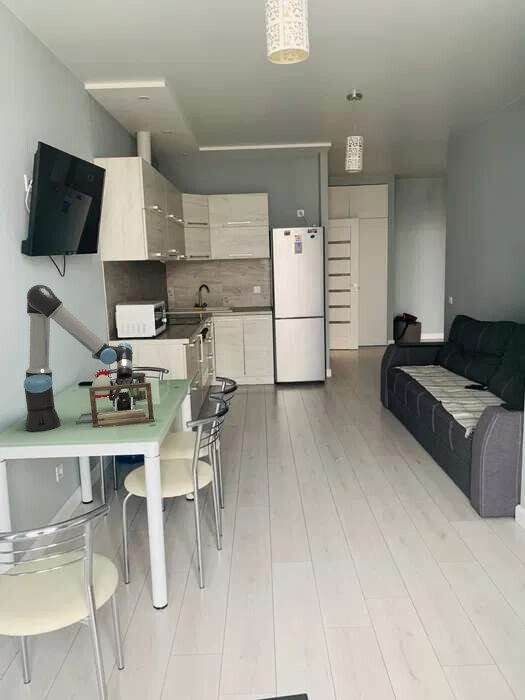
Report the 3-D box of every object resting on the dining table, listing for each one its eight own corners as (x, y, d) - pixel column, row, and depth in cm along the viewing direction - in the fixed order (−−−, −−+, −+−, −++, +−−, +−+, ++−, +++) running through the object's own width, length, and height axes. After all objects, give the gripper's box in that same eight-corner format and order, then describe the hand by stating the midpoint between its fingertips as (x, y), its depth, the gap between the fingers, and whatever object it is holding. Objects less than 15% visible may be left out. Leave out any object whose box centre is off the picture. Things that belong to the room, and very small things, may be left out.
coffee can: (141, 402, 287) (138, 376, 285) (124, 402, 291) (122, 376, 289) (151, 398, 297) (149, 372, 295) (135, 397, 300) (132, 372, 298)
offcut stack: (145, 420, 247) (144, 411, 247) (97, 424, 245) (96, 415, 244) (146, 417, 253) (145, 408, 252) (99, 421, 250) (98, 412, 249)
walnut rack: (153, 422, 248) (150, 384, 245) (92, 427, 244) (88, 389, 242) (154, 418, 254) (150, 381, 251) (94, 424, 250) (90, 386, 248)
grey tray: (105, 421, 254) (105, 418, 253) (76, 424, 252) (75, 420, 252) (109, 414, 267) (108, 411, 266) (81, 416, 265) (80, 413, 264)
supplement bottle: (120, 415, 262) (118, 391, 260) (134, 415, 262) (132, 390, 260) (116, 419, 255) (114, 394, 253) (130, 419, 255) (128, 394, 253)
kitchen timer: (119, 394, 309) (117, 369, 307) (95, 399, 302) (92, 372, 299) (111, 391, 321) (108, 366, 318) (87, 395, 313) (85, 369, 311)
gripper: (145, 373, 272) (146, 413, 259) (105, 376, 269) (103, 417, 256) (144, 365, 266) (144, 405, 253) (102, 368, 263) (101, 409, 250)
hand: (124, 411), depth 254 cm, fingers closed on supplement bottle, 7 cm apart
